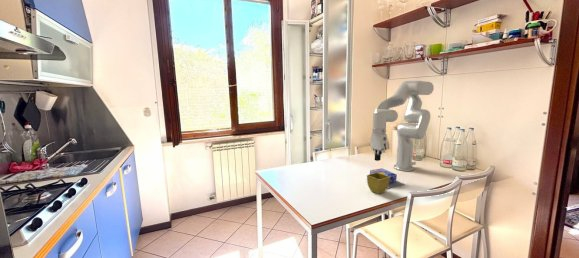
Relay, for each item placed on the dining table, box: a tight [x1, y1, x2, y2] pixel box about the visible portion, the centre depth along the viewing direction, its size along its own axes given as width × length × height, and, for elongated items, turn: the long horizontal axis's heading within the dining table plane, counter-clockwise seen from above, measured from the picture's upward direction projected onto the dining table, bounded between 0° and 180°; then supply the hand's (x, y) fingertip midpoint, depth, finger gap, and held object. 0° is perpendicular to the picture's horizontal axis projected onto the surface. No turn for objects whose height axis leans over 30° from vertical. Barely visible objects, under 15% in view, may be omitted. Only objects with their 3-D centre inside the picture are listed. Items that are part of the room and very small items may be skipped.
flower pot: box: [366, 173, 390, 195], centre depth 136 cm, size 9×9×9 cm
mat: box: [386, 180, 405, 190], centre depth 149 cm, size 14×15×1 cm
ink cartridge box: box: [369, 168, 398, 184], centre depth 150 cm, size 10×6×14 cm
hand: (377, 160), depth 154 cm, fingers closed
